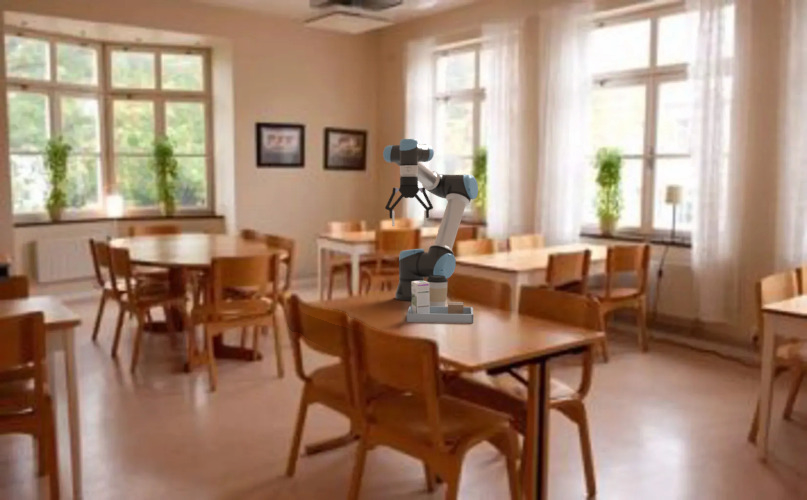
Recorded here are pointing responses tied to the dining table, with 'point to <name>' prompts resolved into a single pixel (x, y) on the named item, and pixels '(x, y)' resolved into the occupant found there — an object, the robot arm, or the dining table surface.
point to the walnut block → (455, 307)
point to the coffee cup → (437, 290)
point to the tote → (441, 315)
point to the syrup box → (420, 297)
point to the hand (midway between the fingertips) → (409, 226)
